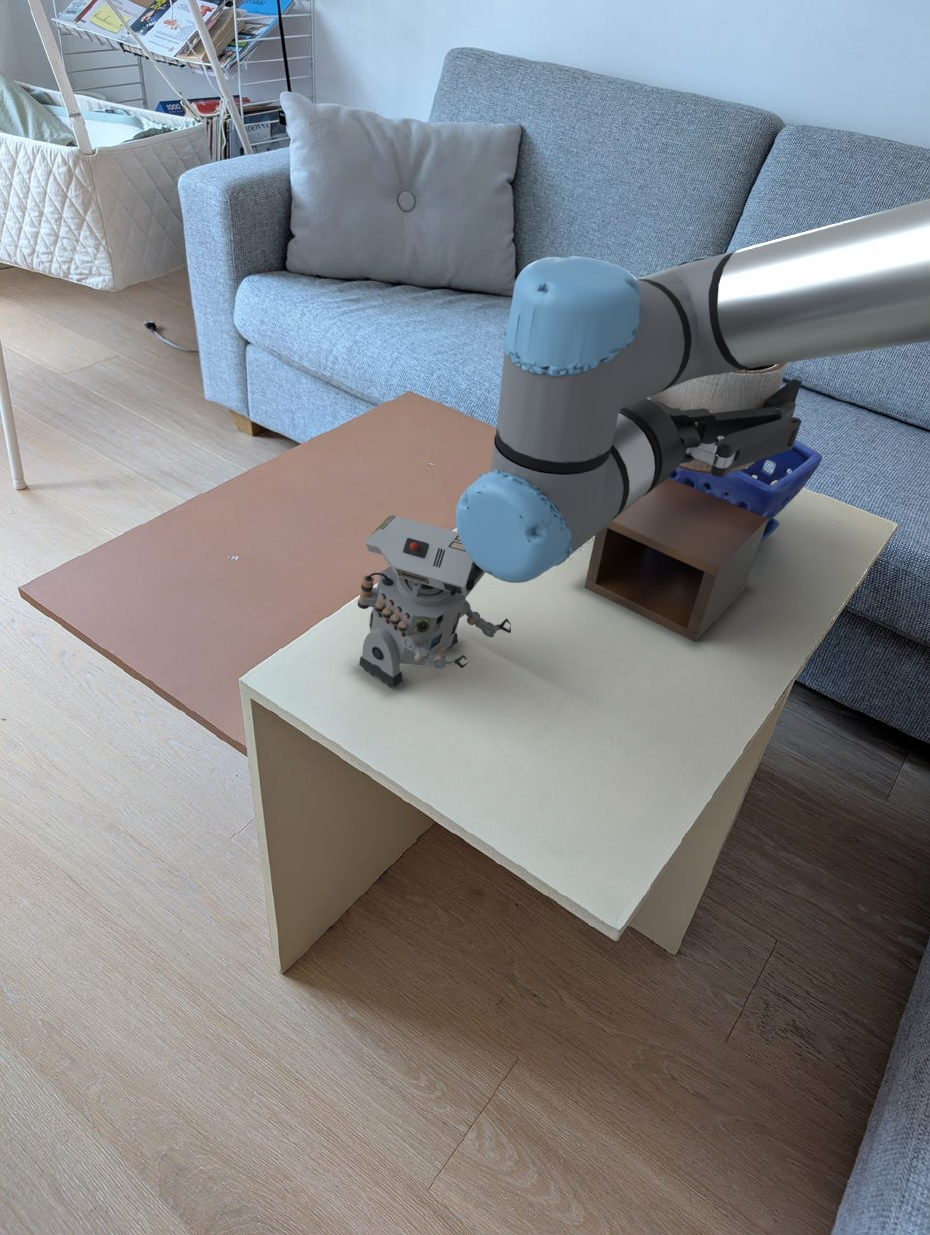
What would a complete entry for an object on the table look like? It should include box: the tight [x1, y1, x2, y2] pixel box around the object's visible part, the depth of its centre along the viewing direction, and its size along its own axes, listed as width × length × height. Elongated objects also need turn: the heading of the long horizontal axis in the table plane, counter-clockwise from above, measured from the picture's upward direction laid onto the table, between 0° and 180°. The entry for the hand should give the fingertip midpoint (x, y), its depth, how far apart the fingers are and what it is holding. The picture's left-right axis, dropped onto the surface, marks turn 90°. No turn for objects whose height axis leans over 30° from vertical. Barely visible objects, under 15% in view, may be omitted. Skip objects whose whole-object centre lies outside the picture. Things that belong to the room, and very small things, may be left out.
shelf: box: [584, 478, 768, 642], centre depth 92 cm, size 13×12×9 cm
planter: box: [650, 362, 789, 473], centre depth 79 cm, size 11×11×10 cm
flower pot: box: [668, 439, 823, 544], centre depth 99 cm, size 13×13×12 cm
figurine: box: [357, 514, 512, 689], centre depth 77 cm, size 9×12×15 cm
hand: (733, 374), depth 81 cm, fingers closed on planter, 11 cm apart
